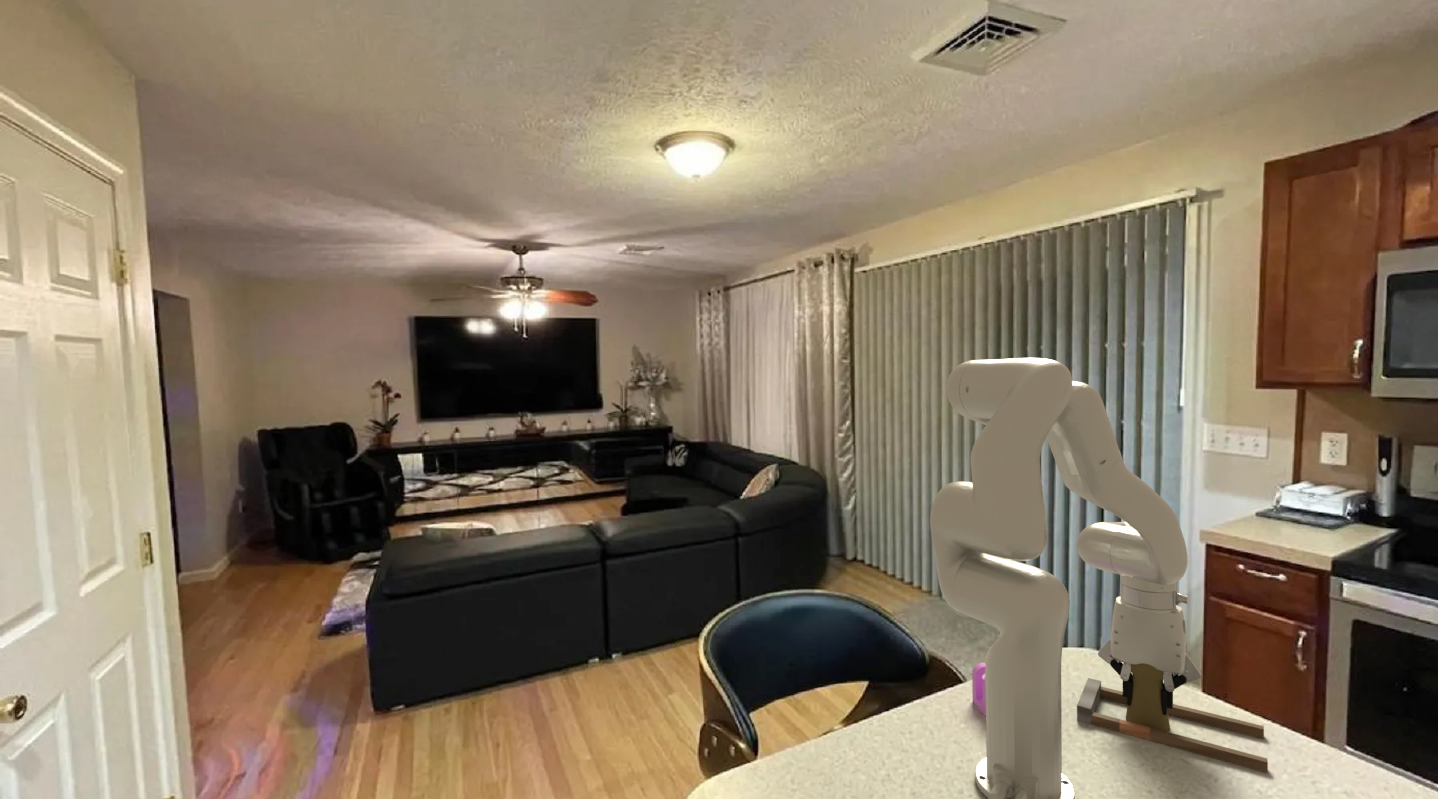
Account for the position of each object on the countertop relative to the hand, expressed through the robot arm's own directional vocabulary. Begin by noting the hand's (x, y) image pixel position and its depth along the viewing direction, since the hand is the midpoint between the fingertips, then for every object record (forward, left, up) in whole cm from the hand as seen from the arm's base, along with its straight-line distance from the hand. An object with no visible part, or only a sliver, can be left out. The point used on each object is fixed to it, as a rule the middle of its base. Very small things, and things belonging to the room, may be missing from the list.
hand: (1147, 705), depth 105 cm
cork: (0, 0, -3) cm, 3 cm away
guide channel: (0, -3, -3) cm, 4 cm away
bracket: (-7, +18, -3) cm, 20 cm away
